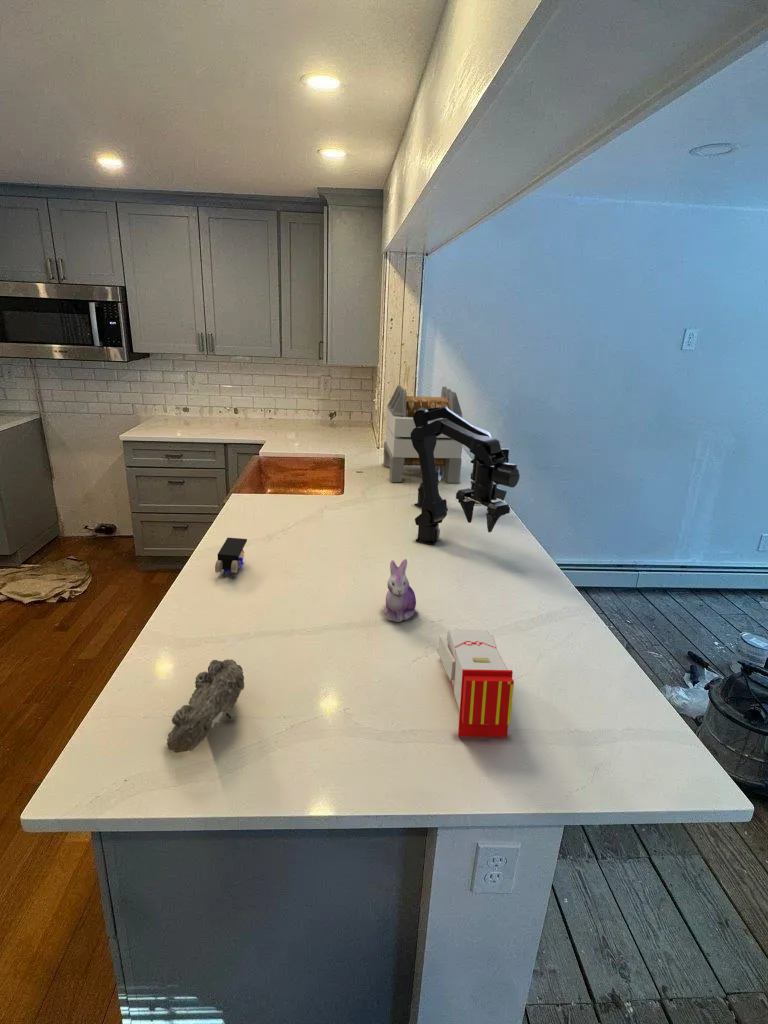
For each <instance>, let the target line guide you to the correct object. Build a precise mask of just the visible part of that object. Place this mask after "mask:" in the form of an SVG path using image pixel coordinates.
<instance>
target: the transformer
mask: <svg viewBox="0 0 768 1024" xmlns="http://www.w3.org/2000/svg"><path fill="white" fill-rule="evenodd" d="M440 393H441V394H440V396H415V395H414V396H413V395H412V396H411V395H407V394H408V393H407V390H406V389H404V388H403V387H402V385H399V384H398V385H397V386H396V388H395V390H394V392H393V394H392V395H391V398H390V400H389V402H388V404H387V405H386V413H385V414H386V415H385V423H386V428H385V438H384V442H383V466H384V467H388V468H389V475H388V476H389V477H388V478H389V480H390V482H391V483H402V482H403V475H404V469H405V466H406V467H407V466H411V467H412V466H413V467H415V466H416V467H417V466H418V467H420V461H419V455H418V453H417V451H416V450H415V449H414V447H413V444H412V441H411V432H412V430H413V429H414V428H416V426H415V423H414V420H413V415H414V413H415V412H416V411H417V410H418V409H419V408H426V409H430V408H437V407H442V406H446V407H447V408H448V409H449V410H451V411H452V412H454V413H455V414H457V415H458V416H460V417H461V418H463V411H462V408H461V405H460V402H459V398H458V395H457V392H455V391H453V390H452V389H451V388H447V386H442V387H441V392H440ZM439 419H443V418H439ZM435 420H437V419H435ZM435 420H432V421H430V423H432V422H434V421H435ZM462 453H463V444H461V443H459V442H457V441H455V440H453V439H452V438H450V437H448V436H446V435H444V434H441V435H439V436H437V440H436V446H435V449H434V460H435V467H436V469H440V475H443V478H444V479H445V481H446V482H447V483H449V484H455V483H456V484H459V483H461V472H462V461H463V460H462Z"/></svg>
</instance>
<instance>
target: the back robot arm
mask: <svg viewBox="0 0 768 1024" xmlns="http://www.w3.org/2000/svg"><path fill="white" fill-rule="evenodd" d="M439 418H446V419H448V420H449V421H451V422H453V423H455V424H457V425H459V426H461V427H463V428H465V429H467V430H469V431H470V432H472V433H474V434H477V435H482V436H488V437H491V438H492V435H491V433H490V432H489V431H488V430H486V429H483V428H481V427H478V426H476V425H474V424H471V423H470V422H468V421H467V420H466V419H464V418H463V417H460V416H458V415H457V414H455V413H454V412H452V411H451V410H449V409H448V408H447V407H446V406H442V407H437V408H430V409H426V408H419V409H418V410H417V411H416V412H415V413H414V415H413V420H414V423H415V426H416V427H422V426H425V425H428V424H430V421H432V420H435V419H439ZM501 450H502V452H503V454H504V456H505V458H506V460H507V462H505V463H509V460H510V455H509V454H510V448H507V447H506V448H502V447H501ZM469 453H471V451H470V450H469ZM475 457H476V456H475V455H474V454H473V459H474V458H475ZM495 458H496V457H492V458H491V459H495ZM476 465H477V464H473V463H472V471H471V473H470V489H472V490H474V486H473V485H472V482H475V475H476ZM435 468H436V475H437V483H438V486H440V485H439V484H440V482H441V481H442V476H441V472H440V469H438V468H437V466H435ZM494 483H495V482H494ZM496 485H497V486H499V485H500V484H497V483H496ZM423 500H424V489H423V482H422V481H421V483H420V484H419V486H418V488H417V502H416V503H414V506H416V507H418V508H419V509H421V506H422V503H423ZM476 504H479V503H477V502H476Z"/></svg>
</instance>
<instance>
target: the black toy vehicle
mask: <svg viewBox="0 0 768 1024" xmlns="http://www.w3.org/2000/svg"><path fill="white" fill-rule="evenodd" d="M247 542H248V538H240V537H226V539H225V541H224V543H223V544H222V546H221V547H220V549H219V551H218V552H217V560H216V562H215V564H214V572H215V573H221V577H222V578H224V577H225V576H226V574H227V573H230V574H231V573H232V574H231V578H234V577H235V575H236V573H237V572H239V571H240V567H242V566H243V565H244V564H245V562H244V558H245V551H244V547H245V546H246V544H247Z"/></svg>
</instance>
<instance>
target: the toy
mask: <svg viewBox="0 0 768 1024" xmlns="http://www.w3.org/2000/svg"><path fill="white" fill-rule="evenodd" d="M446 640H447V643H446V641H445V639H444V636H443V635H442V634H439V637H438V646H437V656H438V657H439V659H440V661H441V663H442V666H443V668H444V670H445V672H446V674H447V677H448V679H449V681H450V684H451V687H452V690H453V693H454V697H455V701H456V705H457V708H458V711H459V714H458V715H459V716H458V730H457V731H458V732H457V737H458V738H508V731H509V726H510V725H511V717H512V707H513V697H514V696H513V695H514V684H515V680H514V679H513V673H514V671H513V670H512V669H508V667H507V665H506V662H505V661H504V659H503V658H502V655H501V653H500V651H499V649H498V647H497V643H496V639H495V637H494V635H493V634H491V632H490V631H489V629H467V628H466V629H465V628H463V629H461V628H460V629H459V628H448V630H447V639H446Z"/></svg>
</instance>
